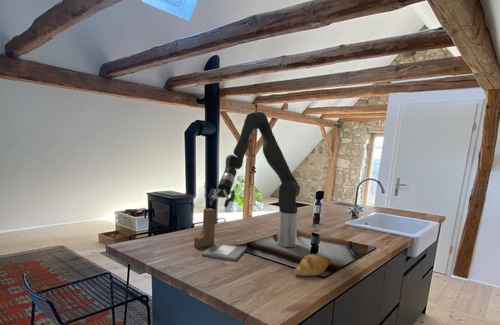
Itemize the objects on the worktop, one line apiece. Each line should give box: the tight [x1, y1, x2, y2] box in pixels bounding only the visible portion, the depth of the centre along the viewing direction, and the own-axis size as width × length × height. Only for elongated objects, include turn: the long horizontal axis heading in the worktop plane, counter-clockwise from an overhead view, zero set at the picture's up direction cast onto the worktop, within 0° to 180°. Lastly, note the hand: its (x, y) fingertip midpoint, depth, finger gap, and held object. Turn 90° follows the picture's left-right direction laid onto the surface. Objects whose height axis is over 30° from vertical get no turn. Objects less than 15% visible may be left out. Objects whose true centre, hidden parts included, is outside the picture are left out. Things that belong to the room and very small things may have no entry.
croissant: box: [293, 253, 330, 277], centre depth 117 cm, size 21×10×8 cm, turn 129°
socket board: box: [201, 242, 247, 262], centre depth 133 cm, size 16×16×1 cm
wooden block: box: [193, 207, 216, 249], centre depth 141 cm, size 9×4×18 cm, turn 128°
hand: (217, 205), depth 153 cm, fingers open, 8 cm apart
